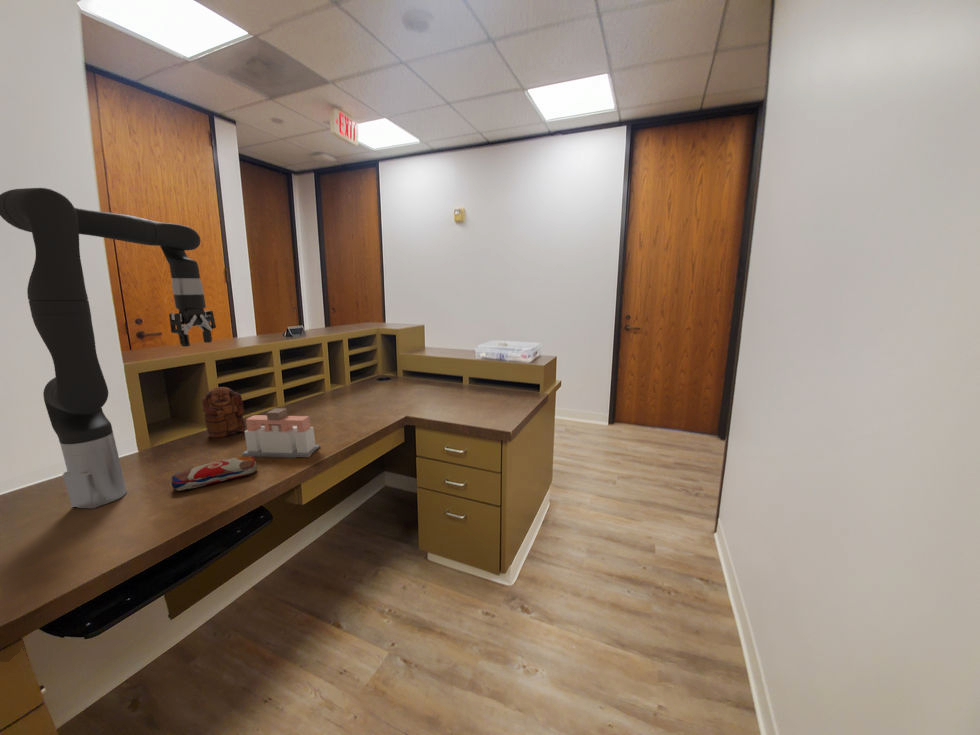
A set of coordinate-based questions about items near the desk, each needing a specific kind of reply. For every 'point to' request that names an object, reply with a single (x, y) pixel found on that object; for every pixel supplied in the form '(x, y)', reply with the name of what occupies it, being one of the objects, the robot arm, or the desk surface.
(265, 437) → the white block cluster
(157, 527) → the desk surface
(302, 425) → the pink arch block
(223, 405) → the wooden figurine
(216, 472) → the pencil case
